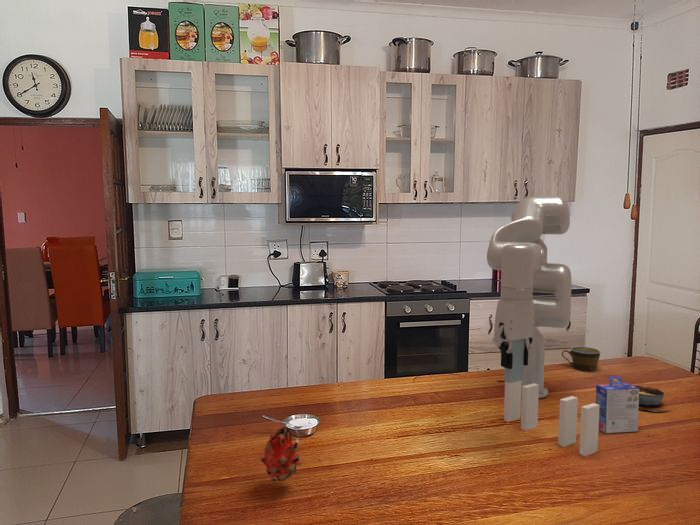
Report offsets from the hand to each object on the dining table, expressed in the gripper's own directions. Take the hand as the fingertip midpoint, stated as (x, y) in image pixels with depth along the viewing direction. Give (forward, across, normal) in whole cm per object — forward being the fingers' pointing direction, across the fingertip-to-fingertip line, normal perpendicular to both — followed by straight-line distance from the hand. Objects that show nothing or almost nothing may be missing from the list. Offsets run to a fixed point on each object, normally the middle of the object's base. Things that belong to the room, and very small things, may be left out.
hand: (514, 365), depth 128 cm
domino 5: (+21, -14, +12) cm, 28 cm away
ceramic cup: (+22, -69, -28) cm, 77 cm away
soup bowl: (+22, -58, +1) cm, 62 cm away
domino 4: (+21, -14, +6) cm, 26 cm away
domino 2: (+21, -14, -12) cm, 28 cm away
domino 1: (+4, 0, 0) cm, 4 cm away
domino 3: (+21, -14, -6) cm, 26 cm away
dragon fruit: (+21, +57, -15) cm, 63 cm away
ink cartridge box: (+22, -34, +7) cm, 41 cm away
